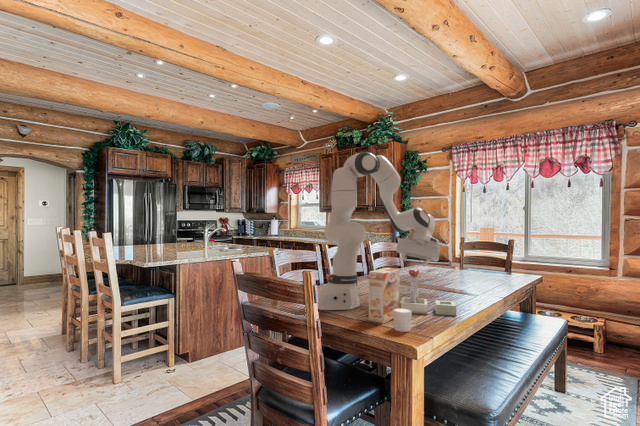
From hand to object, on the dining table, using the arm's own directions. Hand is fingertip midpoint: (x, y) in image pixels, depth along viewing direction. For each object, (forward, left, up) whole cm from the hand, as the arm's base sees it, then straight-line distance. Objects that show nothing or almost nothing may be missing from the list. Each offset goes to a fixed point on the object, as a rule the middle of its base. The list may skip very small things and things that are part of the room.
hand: (414, 262), depth 167 cm
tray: (-5, -9, -19) cm, 22 cm away
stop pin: (-5, -9, -18) cm, 21 cm away
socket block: (+6, -16, -19) cm, 26 cm away
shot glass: (-23, -32, -20) cm, 44 cm away
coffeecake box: (-23, -17, -20) cm, 35 cm away
